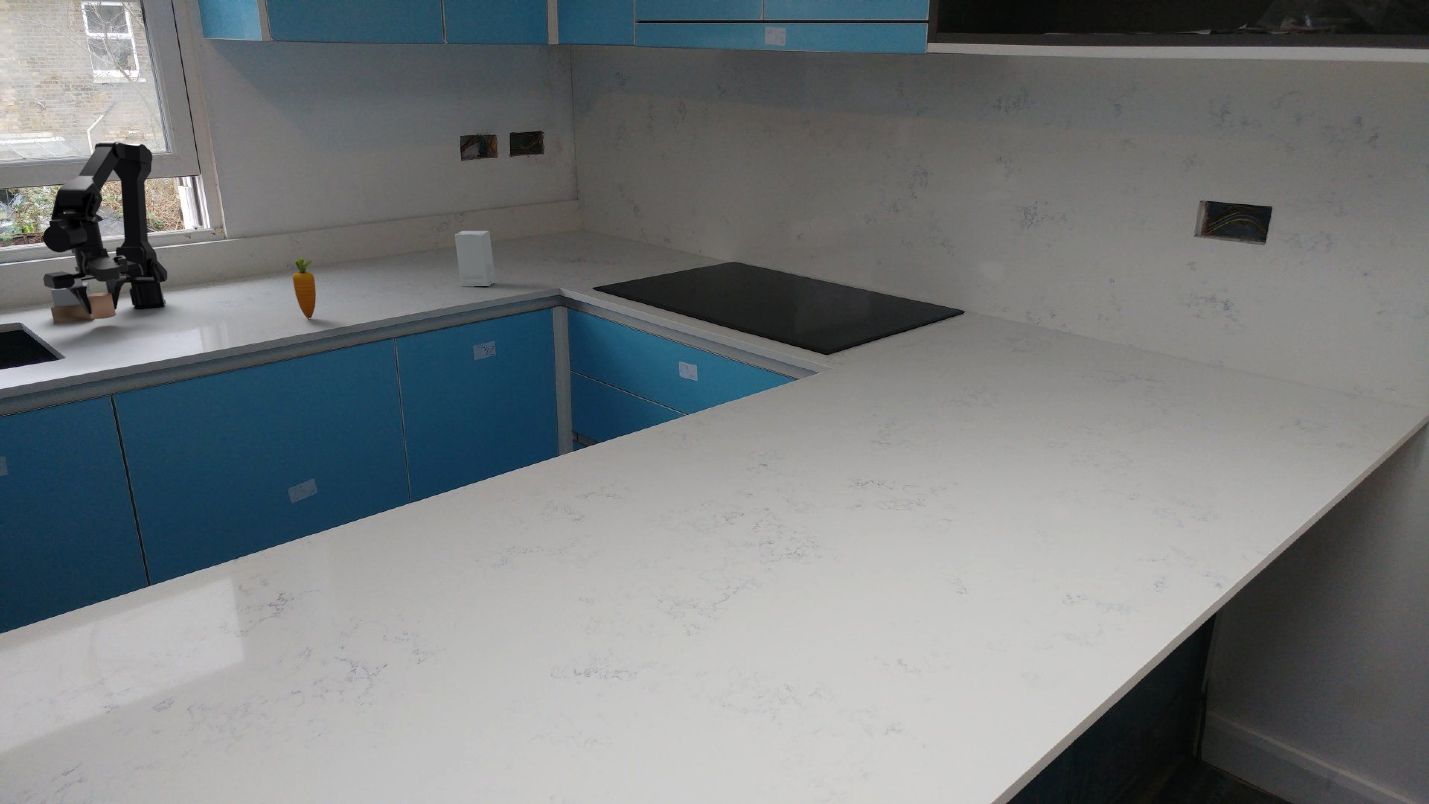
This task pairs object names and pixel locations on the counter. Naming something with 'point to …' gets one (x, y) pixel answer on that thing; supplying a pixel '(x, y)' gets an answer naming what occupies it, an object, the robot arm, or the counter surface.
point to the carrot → (305, 288)
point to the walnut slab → (69, 314)
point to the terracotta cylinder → (101, 305)
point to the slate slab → (66, 296)
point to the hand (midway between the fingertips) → (102, 311)
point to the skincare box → (475, 258)
